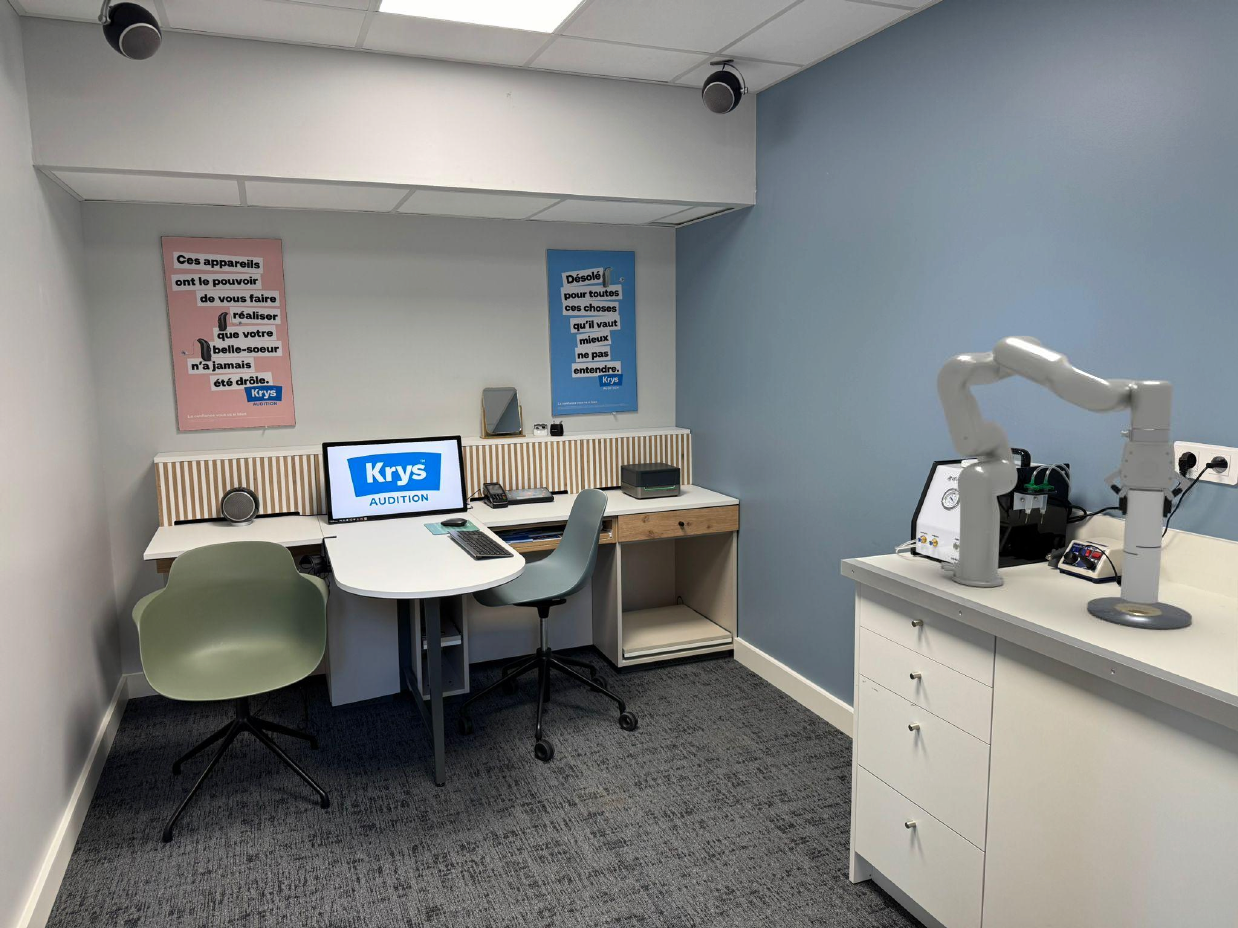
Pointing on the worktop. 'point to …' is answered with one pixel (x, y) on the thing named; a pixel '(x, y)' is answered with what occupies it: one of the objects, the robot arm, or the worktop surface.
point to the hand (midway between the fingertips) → (1144, 514)
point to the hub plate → (1139, 613)
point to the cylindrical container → (1142, 545)
